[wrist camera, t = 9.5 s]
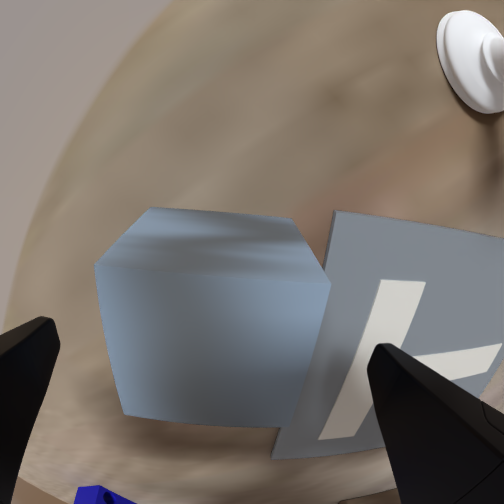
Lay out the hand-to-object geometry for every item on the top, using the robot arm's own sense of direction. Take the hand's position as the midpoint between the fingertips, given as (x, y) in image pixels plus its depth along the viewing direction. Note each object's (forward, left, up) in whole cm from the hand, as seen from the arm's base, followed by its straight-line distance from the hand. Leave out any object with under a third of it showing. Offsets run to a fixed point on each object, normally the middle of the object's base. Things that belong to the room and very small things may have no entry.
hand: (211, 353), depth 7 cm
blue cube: (0, 0, -4) cm, 5 cm away
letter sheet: (-12, +5, -4) cm, 14 cm away
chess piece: (-10, -11, -5) cm, 15 cm away
